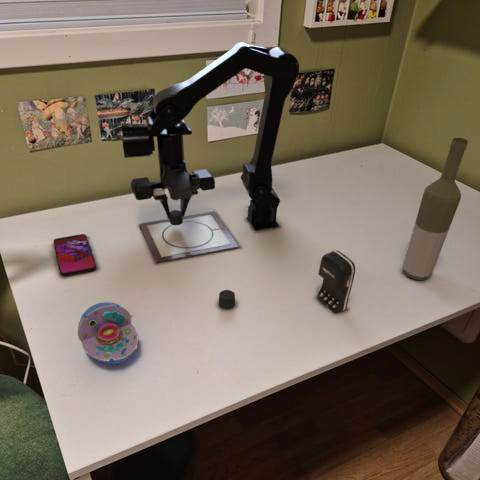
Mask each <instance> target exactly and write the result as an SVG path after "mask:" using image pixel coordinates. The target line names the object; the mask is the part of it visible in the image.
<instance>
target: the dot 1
mask: <svg viewBox="0 0 480 480" xmlns="http://www.w3.org/2000/svg"><path fill="white" fill-rule="evenodd" d="M169 211H170V224H172V225H180V224H182V223H183V217H182V212H181V210H179V209H173V210H169Z"/></svg>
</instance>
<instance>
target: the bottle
mask: <svg viewBox="0 0 480 480" xmlns="http://www.w3.org/2000/svg"><path fill="white" fill-rule="evenodd" d="M468 143H469V141H468V139H466V138H463V137H453V138H452V141H451V142H450V146H449V149H448V150H449V151H448V154H447V155H446V156H447V157H446V159H445V160H446V161H445V163H444V166H443V169H442V172H441V175H440V176H439V178H438V179H436V180H434V181H433V182H432V183H430V184H428V185H427V186H426V187H425V188H424V190H423V194H422V197H421V200H420V204H419V207H418V211H417V215H416V218H415V222H414V225H413V228H412V233H411V236H410V240H409V243H408V246H407V249H406V253H405V257H404V260H403V264H402V272H403V274H404V275H405V276H406V277H408V278H410V279H413V280H418V281H424V280H428V279H429V278H430V277H431V276H432V274H433V273H434V270H435V267H436V264H437V262H438V259H439V257H440V254H441V251H442V248H443V247H444V243H445V242H446V238H447V235H448V232H449V230H450V228H451V225H452V222H453V220H454V217H455V215H456V213H457V210H458V207H459V205H460V202H461V199H462V193H461V190H460V187H459V186H458V185H457V182H456V178H457V175H458V171H459V169H460V166H461V163H462V159H463V157H464V155H465V151H466V150H467V147H468Z"/></svg>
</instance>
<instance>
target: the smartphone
mask: <svg viewBox="0 0 480 480" xmlns="http://www.w3.org/2000/svg"><path fill="white" fill-rule="evenodd" d="M88 239H89V238H88V236H87V234H85V233H81V234H80V233H79V234H74V235H69V236H68V235H67V236H63V237H57V238H55V239H53V247H54V252H55V256H56V259H57V264H58V268H59V274H60V276H62V277H68V276H72V275H77V274H82V273H86V272H87V273H88V272H91V271H92V272H93V271H95V270H96V269H97V265H96V262H95V261H96V260H95V258H94V255H93V251H92V249H91V245H90V242H89V240H88Z"/></svg>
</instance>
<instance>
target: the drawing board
mask: <svg viewBox="0 0 480 480" xmlns="http://www.w3.org/2000/svg"><path fill="white" fill-rule="evenodd" d="M139 227H140V229H141V231H142V233H143V236H144V238H145V240H146V243H147V245H148V247H149V249H150V251H151V253H152V256H153V259H154V260H155V263H156V264H161V263H166V262H170V261H176V260H181V259H187V258H192V257H197V256H203V255H209V254H214V253H219V252H224V251H230V250H234V249H239V248H240V246H239V245H238V243H237V241H236V240H235V238H234V237H233V236H232V234H231V233H230V232H229V230H228V229H227V227H226V226H225V224H224V223H223V222H222V221H221V219H220V217H219V215H217V213H216V211H211V212H206V213H205V212H204V213H198V214H193V215H187V216H184V217H183V223H182V224H180V225H172V224H170V219H168V218H167V219H161V220H155V221H149V222H143V223H139Z"/></svg>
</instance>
